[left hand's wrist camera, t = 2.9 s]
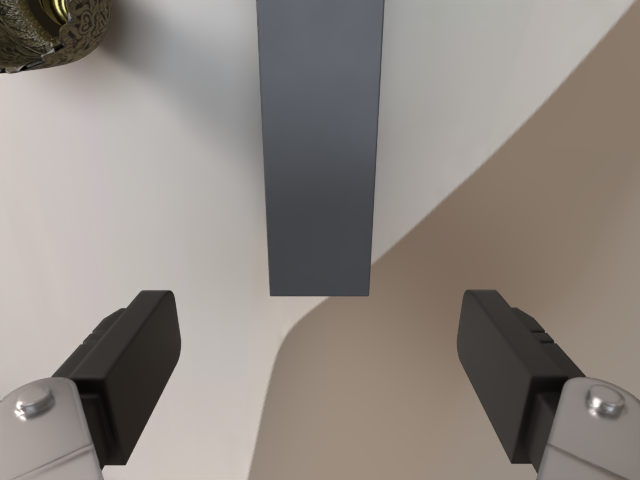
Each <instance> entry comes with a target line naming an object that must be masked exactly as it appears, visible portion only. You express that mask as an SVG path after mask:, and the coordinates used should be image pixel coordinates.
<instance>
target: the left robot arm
mask: <svg viewBox="0 0 640 480" xmlns="http://www.w3.org/2000/svg"><path fill="white" fill-rule="evenodd" d="M92 332H93V333H92V334H90V335H89V336H88V337H87V338H86V339H85V340H84V341H83V344H81V345H80V346H79V347H78V348H77V349H76V350H75V351H74V352H73V353H72V354H71V356H70V357H69V358H68V359H67V360H66V361H65V362H64V363H63V364H62V366H61V367H60V368H59V369H58V370H57V371H56V372H55V373H54V374H53V375H52V377H51V378H45V379H40V380H37V381H34V382H31V383H28V384H26V385H24V386H22V387H19V388H18V389H16V390H14V391H12V392H11V393H9V394H8V395H7V396H5V397H4V398H3V399H2V400H1V401H0V480H104V479H103V475H102V472H101V471H102V469H103V467H104V466H105V465H126V463H127V461H128V459H129V457H130V455H131V453H132V451H133V449H134V447H135V445H136V443H137V441H138V439H139V437H140V435H141V434H142V432H143V430H144V428H145V426H146V424H147V422H148V420H149V418H150V416H151V414H152V412H153V410H154V408H155V406H156V404H157V402H158V400H159V398H160V396H161V394H162V392H163V390H164V388H165V386H166V384H167V382H168V380H169V378H170V376H171V374H172V372H173V370H174V368H175V366H176V364H177V362H178V360H179V356H180V351H181V336H180V330H179V323H178V316H177V310H176V303H175V297H174V294H173V292H172V291H170V290H143V291H141V292H140V293H139V294H138V295H137V296H136V298H135V299H134V300H133V301H132V302H131V303H130V305H129V306H128V307H127V308H121V309H119V310H118V311H116V312H114V313H113V314H111V315H109V316H108V317H106V318H104V319H103V320H102V321H101V322H100V324H99V325H98V326H97V327H96V328H95V329H94V330H93V331H92ZM457 351H458V356H459V359H460V362H461V364H462V366H463V368H464V370H465V372H466V374H467V376H468V378H469V380H470V382H471V384H472V386H473V388H474V390H475V392H476V394H477V396H478V398H479V400H480V402H481V404H482V406H483V408H484V410H485V412H486V414H487V416H488V418H489V420H490V422H491V424H492V426H493V428H494V430H495V432H496V434H497V436H498V438H499V440H500V442H501V444H502V446H503V448H504V450H505V452H506V454H507V456H508V458H509V460H510V462H511V463H512V464H532V465H533V467H534V468H535V470H536V472H537V474H538V475H537V479H536V480H640V401H639V400H638V399H637V398H636V397H635V396H633V395H632V394H630V393H629V392H628V391H626V390H624V389H622V388H620V387H618V386H616V385H614V384H612V383H609V382H606V381H603V380H600V379H595V378H588V377H586V376H585V375H584V374H583V373H582V371H581V370H580V369H579V368H578V367H577V366H576V365H575V364H574V363H573V361H572V360H571V359H570V358H569V357H568V356H567V355H566V354H565V353H564V351H563V350H562V349H561V348H560V347H559V346H558V345H557V344H555V343H554V340H553V339H552V338H551V337H550V336H549V335H548V334H547V333H545V330H544V329H543V328H542V327H541V326H540V325H539V324H538V323H537V321H536V320H535V319H534V318H533V317H531V316H529V315H528V314H526V313H524V312H523V311H521V310H519V309H518V308H511V307H510V306H509V305H508V303H507V302H506V301H505V300H504V299H503V298H502V296H501V295H500V294H499V293H498V292H497V291H496V290H466V291H465V293H464V296H463V301H462V308H461V315H460V321H459V328H458V335H457Z"/></svg>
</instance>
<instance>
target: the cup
mask: <svg viewBox="0 0 640 480" xmlns="http://www.w3.org/2000/svg"><path fill="white" fill-rule="evenodd" d="M67 9H68V10H67ZM68 11H69V12H68ZM110 17H111V0H67V7H66V0H0V73H9V74H11V73H17V72H21V71H28V70H36V69H43V68H49V67H55V66H60V65H65V64H68V63H71V62H74V61H77V60H79V59H81V58H83V57H85V56H86V55H88V54H89V53H91V52H92V51H93V50H94V49H95V48H96V47H97V46H98V45H99V44H100V42H101V41H102V39H103V38H104V36H105V34H106V32H107V29H108V26H109V22H110Z"/></svg>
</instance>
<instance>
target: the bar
mask: <svg viewBox="0 0 640 480" xmlns="http://www.w3.org/2000/svg"><path fill="white" fill-rule="evenodd" d="M384 1H385V0H256V5H257V26H258V48H259V70H260V91H261V113H262V134H263V156H264V178H265V199H266V221H267V243H268V264H269V286H270V296H369V284H370V266H371V247H372V228H373V209H374V190H375V171H376V152H377V133H378V114H379V95H380V76H381V57H382V38H383V19H384Z"/></svg>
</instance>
